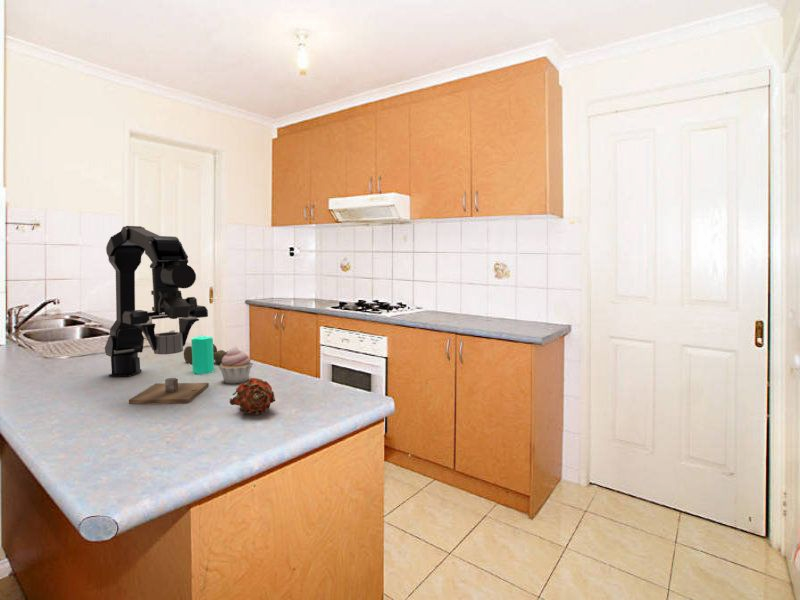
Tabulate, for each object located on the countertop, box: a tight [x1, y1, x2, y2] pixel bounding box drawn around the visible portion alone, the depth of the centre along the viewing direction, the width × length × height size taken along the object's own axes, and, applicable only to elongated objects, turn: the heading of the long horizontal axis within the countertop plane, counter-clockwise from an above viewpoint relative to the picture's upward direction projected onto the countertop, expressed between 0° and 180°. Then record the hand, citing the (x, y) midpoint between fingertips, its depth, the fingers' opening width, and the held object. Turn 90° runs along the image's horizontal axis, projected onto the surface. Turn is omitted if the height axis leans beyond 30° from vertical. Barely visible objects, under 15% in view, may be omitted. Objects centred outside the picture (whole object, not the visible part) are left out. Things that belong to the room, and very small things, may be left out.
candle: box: [191, 335, 215, 375], centre depth 140 cm, size 6×6×12 cm
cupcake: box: [218, 346, 254, 385], centre depth 130 cm, size 9×9×10 cm
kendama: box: [183, 343, 229, 365], centre depth 153 cm, size 6×10×20 cm
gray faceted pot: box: [153, 329, 184, 355], centre depth 117 cm, size 6×7×5 cm
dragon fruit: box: [229, 377, 276, 416], centre depth 106 cm, size 8×8×12 cm
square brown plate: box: [128, 377, 210, 405], centre depth 118 cm, size 14×14×4 cm
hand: (168, 348), depth 117 cm, fingers closed on gray faceted pot, 7 cm apart
